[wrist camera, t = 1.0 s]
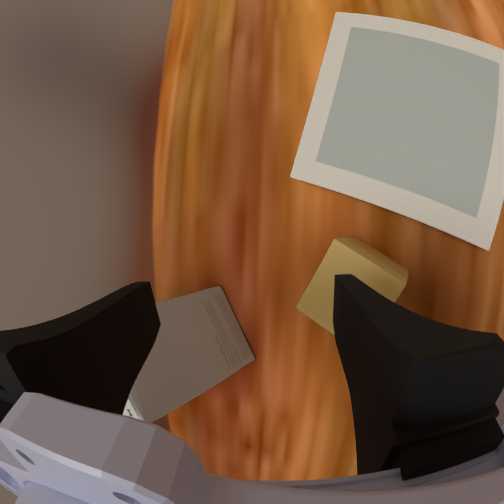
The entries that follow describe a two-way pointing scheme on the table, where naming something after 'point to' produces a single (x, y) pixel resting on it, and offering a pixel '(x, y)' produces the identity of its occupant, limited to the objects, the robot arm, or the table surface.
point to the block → (358, 264)
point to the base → (409, 124)
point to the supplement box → (188, 353)
